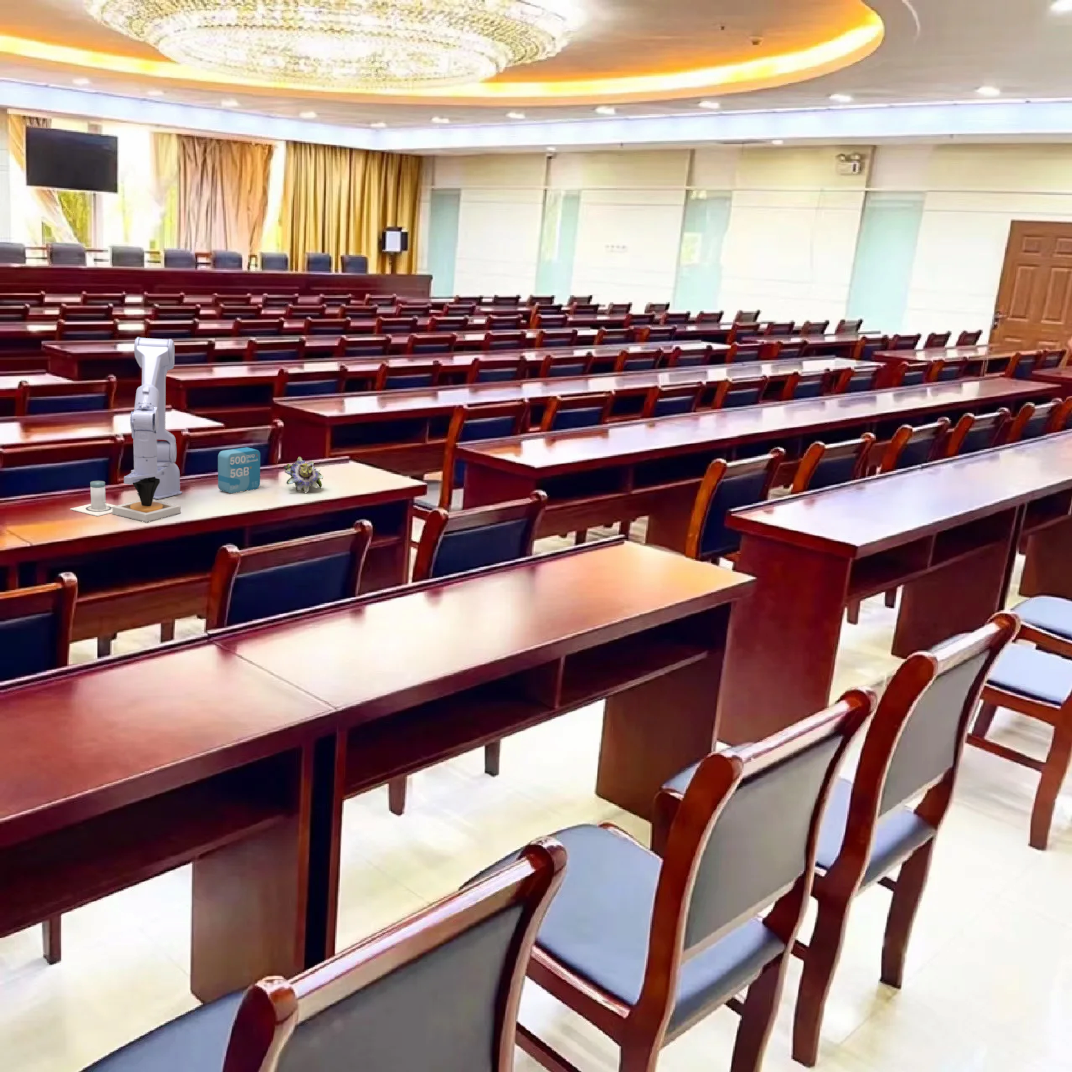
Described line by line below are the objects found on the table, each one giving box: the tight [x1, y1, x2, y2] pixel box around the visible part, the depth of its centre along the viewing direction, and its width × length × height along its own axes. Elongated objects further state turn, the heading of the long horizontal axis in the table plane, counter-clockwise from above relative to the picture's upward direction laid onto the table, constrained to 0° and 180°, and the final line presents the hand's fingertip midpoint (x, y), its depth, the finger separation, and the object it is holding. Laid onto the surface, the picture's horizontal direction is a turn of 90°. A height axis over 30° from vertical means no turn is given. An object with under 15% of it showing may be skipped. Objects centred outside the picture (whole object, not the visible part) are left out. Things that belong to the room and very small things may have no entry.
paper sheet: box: [69, 502, 117, 517], centre depth 276 cm, size 10×10×1 cm
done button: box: [130, 502, 163, 513], centre depth 275 cm, size 8×8×2 cm
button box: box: [111, 499, 181, 523], centre depth 276 cm, size 12×12×2 cm
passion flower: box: [283, 456, 324, 493], centre depth 313 cm, size 11×11×12 cm
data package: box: [217, 447, 261, 494], centre depth 306 cm, size 12×4×12 cm, turn 145°
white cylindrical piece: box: [89, 480, 107, 510], centre depth 275 cm, size 4×4×7 cm
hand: (146, 505), depth 275 cm, fingers closed, pressing on done button
